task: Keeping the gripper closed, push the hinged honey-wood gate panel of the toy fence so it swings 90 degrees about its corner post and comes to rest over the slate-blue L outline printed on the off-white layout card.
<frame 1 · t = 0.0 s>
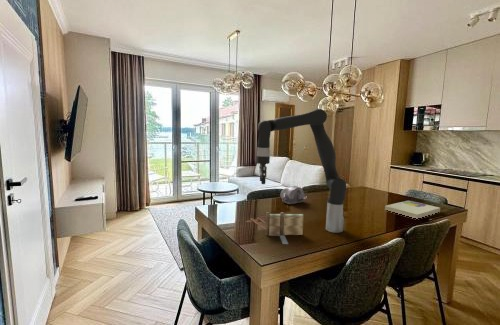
hand: (262, 182, 145), 29 cm above the table, fingers open, 8 cm apart
layout card: (282, 238, 137), on the table
puzzle box: (412, 212, 194), on the table
gate panel: (293, 224, 141), point 7 cm above the table, hinge at 0.0°
fixed leg: (281, 234, 141), resting on layout card
decorative fence: (262, 226, 157), on the table
toy elephant: (293, 202, 210), on the table
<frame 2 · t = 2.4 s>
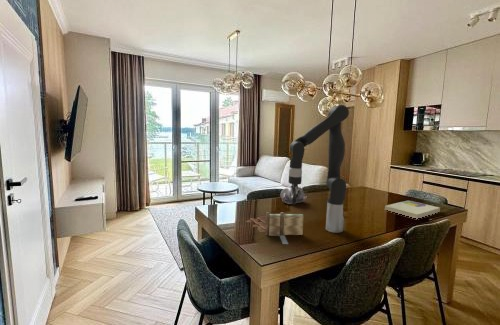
hand: (293, 204, 146), 17 cm above the table, fingers closed
nothing on the table moved.
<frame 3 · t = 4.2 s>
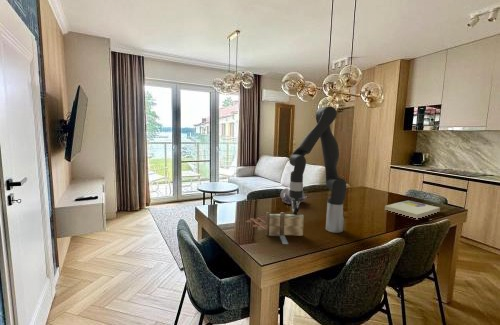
hand: (294, 217, 143), 10 cm above the table, fingers closed
gate panel: (293, 224, 140), point 7 cm above the table, hinge at -5.6°, touching gripper
everything else where it was.
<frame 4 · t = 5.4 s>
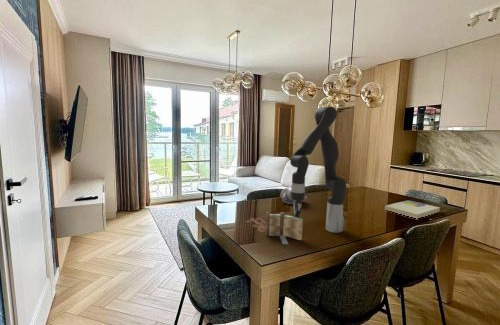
hand: (296, 220, 139), 10 cm above the table, fingers closed
gate panel: (292, 227, 137), point 7 cm above the table, hinge at -38.4°, touching gripper
everything else where it was.
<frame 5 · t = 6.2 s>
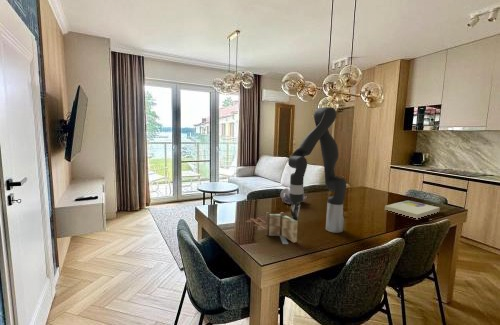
hand: (295, 222, 136), 10 cm above the table, fingers closed
gate panel: (289, 228, 135), point 7 cm above the table, hinge at -63.1°, touching gripper
everything else where it was.
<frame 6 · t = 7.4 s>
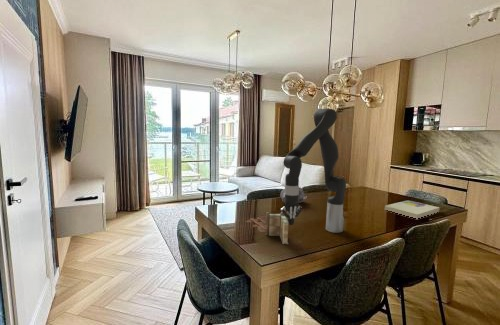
hand: (291, 224, 133), 10 cm above the table, fingers closed
gate panel: (284, 229, 134), point 7 cm above the table, hinge at -90.5°, touching gripper
everything else where it was.
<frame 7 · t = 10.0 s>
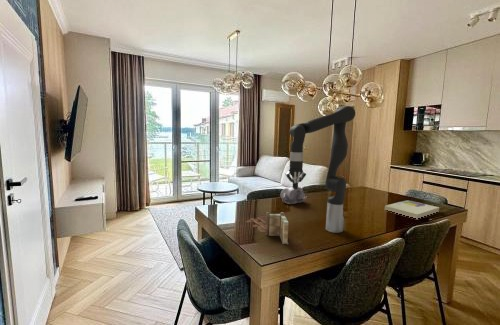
hand: (295, 188, 145), 26 cm above the table, fingers closed
gate panel: (284, 229, 134), point 7 cm above the table, hinge at -90.5°
everything else where it was.
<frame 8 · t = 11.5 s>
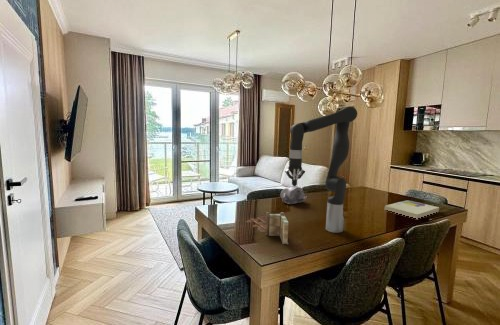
hand: (294, 185, 150), 27 cm above the table, fingers closed
nothing on the table moved.
at the end: gate panel at -90° (first picture: +0°) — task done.
